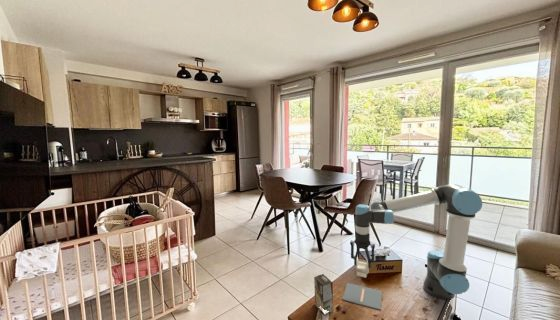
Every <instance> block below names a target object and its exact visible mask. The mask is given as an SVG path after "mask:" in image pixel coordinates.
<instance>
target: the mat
mask: <svg viewBox="0 0 560 320" xmlns="http://www.w3.org/2000/svg"><path fill="white" fill-rule="evenodd" d="M382 296H383V290H379V289H375V288H371V287H366V286H361V285H359V284H354V283H351V282H350V283H349V282H347V283H346V285H345V289H344V291H343V295H342V298H341V299H342V301H345V302H348V303H352V304H356V305H358V306H359V305H360V306H363V307H367V308H370V309H375V310H378V311H382V310H381V309H382Z"/></svg>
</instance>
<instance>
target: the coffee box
mask: <svg viewBox="0 0 560 320" xmlns="http://www.w3.org/2000/svg"><path fill="white" fill-rule="evenodd" d="M313 278H314V279H313V280H314V281H313V284H314V305H315V306H316V307H317V308H318V307H320V306H321V307H322V308H323V309H324V310H327V311H329V312H330V313H333V312H334V296H333V294H334V292H333V288H334V287H333V282H332V281H331V279H329V278H328V277H327V276H326V275H325V273H323V274H318V275H316V276H314V277H313Z"/></svg>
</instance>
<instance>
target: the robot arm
mask: <svg viewBox="0 0 560 320" xmlns="http://www.w3.org/2000/svg"><path fill="white" fill-rule="evenodd" d="M430 205H436V206H439V205H446V209H445V212H446V213H447V214H448V220H447V227H446V234H445V241H444V248H443V251H441V250H440V251H439V250H430V251H428V252H427V256H426V258H427V260H426V265H427V266H426V271H427V272H426V277H425V278H424V281H423V284H422V285H423V289H424V291H425V292H426V293H427V294H429V295H431V296H432V297H434V298H438V299H442V300H452V299H454V298H455V296H456V295H462V294H463V293H466V292H468V290H469V288H470V281H469V279H468V278H467V267H466V265H465V264H464V262H465V256H466V251H467V244H468V236H469V230H470V225H471V224H470V223H471V220H472V219H474V218H476V214H477V213H478V212H480V211H481V209H482V207H483V200H482V197H481V196H480V195H479V194H478V193H477V192H476V191H474V190H472V189H470V188H467V187H465V186H464V187H463V186H462V185H459V184H453V183H452V184H451V183H450V184H445V185H439V186H437V187H431V188H430V189H429V190H428V191H427V190H426V191H423V192H419V193H415V194H410V195H407V196H402V197H398V198H393V199H389V200H385V201H381V202H379V201H374V202H371V204H370V206H369V205H368V204H361V203H359V204H357V205H356V206H355V214H354V215H355V217H354V219H355V224H354V225H355V226H354V227H355V235H354V236H355V239H354V240H352V239H351V240H350V241H349V244H350V258H351V259H353V261H354V262H353V263H354V266H355V272H356V273H357V265H358V261H359V258H358V257H359V256H358V255H359V252H360V250H361V249H362V250H364V252H365V255H366V258H367V259H366V261H367V275H368V274H369V270H370V269H371V267H372V263H374V262H375V248H376V244H375V243H371V241H370V237H371V236H370V234H371V233H370V226H371V225H370V224H383V225H384V224H385V225H391V224H394V221H395V220H394V219H395V218H394V213H398V212H403V211H407V210H412V209H416V208H422V207H426V206H430ZM355 245H356V247H357V249H356V251H355V250H354V249H355ZM369 247H370V248H371V255H370V251H369ZM354 252H355V253H354Z"/></svg>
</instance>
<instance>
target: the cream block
mask: <svg viewBox="0 0 560 320" xmlns="http://www.w3.org/2000/svg"><path fill="white" fill-rule="evenodd" d="M356 276H357V277H360V278H367V276H368V274H367V260H365V259H359V258H358V265H357V272H356Z"/></svg>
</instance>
